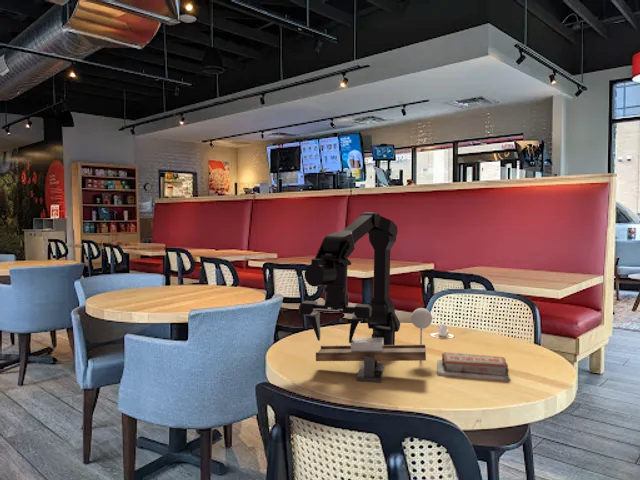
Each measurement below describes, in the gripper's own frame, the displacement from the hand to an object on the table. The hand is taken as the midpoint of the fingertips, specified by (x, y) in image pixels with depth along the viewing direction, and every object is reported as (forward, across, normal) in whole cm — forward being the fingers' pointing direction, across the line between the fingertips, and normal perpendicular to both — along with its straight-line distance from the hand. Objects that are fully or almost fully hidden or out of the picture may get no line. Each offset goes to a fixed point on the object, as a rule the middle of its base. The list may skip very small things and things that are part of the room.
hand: (334, 341), depth 132 cm
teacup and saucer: (+8, -33, -48) cm, 59 cm away
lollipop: (+8, -23, -16) cm, 29 cm away
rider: (+2, -9, 0) cm, 9 cm away
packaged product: (+8, -36, -8) cm, 38 cm away
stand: (+8, -10, 0) cm, 13 cm away
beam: (+3, -10, 0) cm, 10 cm away
